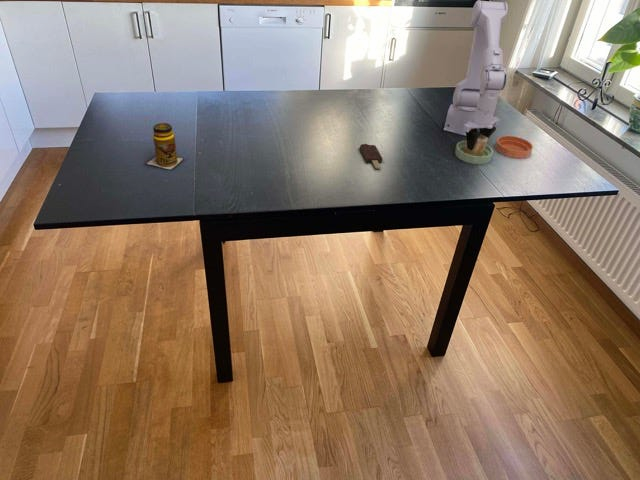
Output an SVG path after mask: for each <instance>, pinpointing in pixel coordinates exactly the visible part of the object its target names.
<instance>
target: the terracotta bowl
mask: <svg viewBox="0 0 640 480" xmlns="http://www.w3.org/2000/svg"><path fill="white" fill-rule="evenodd" d="M533 148H534V146H533V144H532V143H531V142H530V141H529V140H527V139H524V138H522V137H519V136H514V135H502V136H499V137H497V139H496V142H495V144H494V149H495V151H496V152H498V153H499V154H500V155H503V156H504V157H506V158H507V157H508V158H511V159H519V160H523V159H527V158H529V157H530V156H531V154H532V151H533Z"/></svg>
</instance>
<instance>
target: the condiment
mask: <svg viewBox="0 0 640 480" xmlns="http://www.w3.org/2000/svg"><path fill="white" fill-rule="evenodd" d="M152 128H153V129H152V130H153V136H152V138H153V144H154V151H155V156H154V157H153V158H152V159H151V160H149V161H148V162H146V165H150V166H154V167H158V168H163V169H165V170H172V169H174V168H175V167H176V166H177V165H178V164H179V163H181V162H182V161H183V160H184V158H182V157H178V153H177V145H176V137H175V133H174V131H173V127H172V125H171V124H170V123H168V122H159V123H157V124H155V125H153V127H152Z"/></svg>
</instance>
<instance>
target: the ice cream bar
mask: <svg viewBox="0 0 640 480" xmlns="http://www.w3.org/2000/svg"><path fill="white" fill-rule="evenodd" d="M359 151H360V153H361V155H362V157H363V159H364V161H365V163H367V164H371V163H372V164H373V167H374V168H375V169H376V170H380V169H381V165H380V163H382V162H383V156H382V155H381V153H380V151H379V149H378V148H377V146H376V144H368V143H363V144H362V143H361V144H360V145H359Z"/></svg>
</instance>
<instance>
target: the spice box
mask: <svg viewBox="0 0 640 480" xmlns="http://www.w3.org/2000/svg"><path fill="white" fill-rule="evenodd" d="M465 141H466V145H465V149H464V153H466V154H468V155H472V156H479V157H483V154H484V151H485V147H486V145H488V144H487V143H488V141H489V138H487V137H485V136H484V135H482V134H481V135H480V136H479V137H478V139H477V141H476V143H475V146H474V148H473V150H469V149H468V148H467V140H465Z"/></svg>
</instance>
